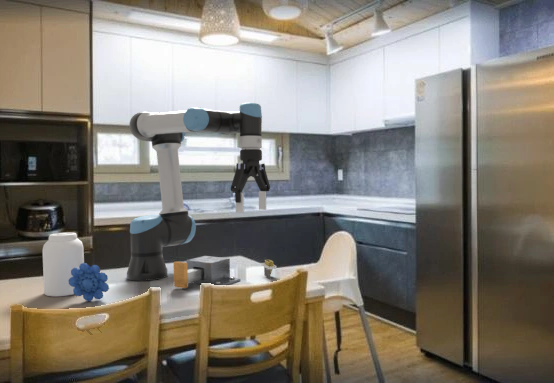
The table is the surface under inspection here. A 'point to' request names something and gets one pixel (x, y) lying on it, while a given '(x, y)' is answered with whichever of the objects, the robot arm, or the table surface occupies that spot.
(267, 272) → the potted plant
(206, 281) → the bracket
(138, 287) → the table surface
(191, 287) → the table surface
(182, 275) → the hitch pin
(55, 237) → the white jar
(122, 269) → the table surface
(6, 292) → the table surface
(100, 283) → the blue rosette flower
